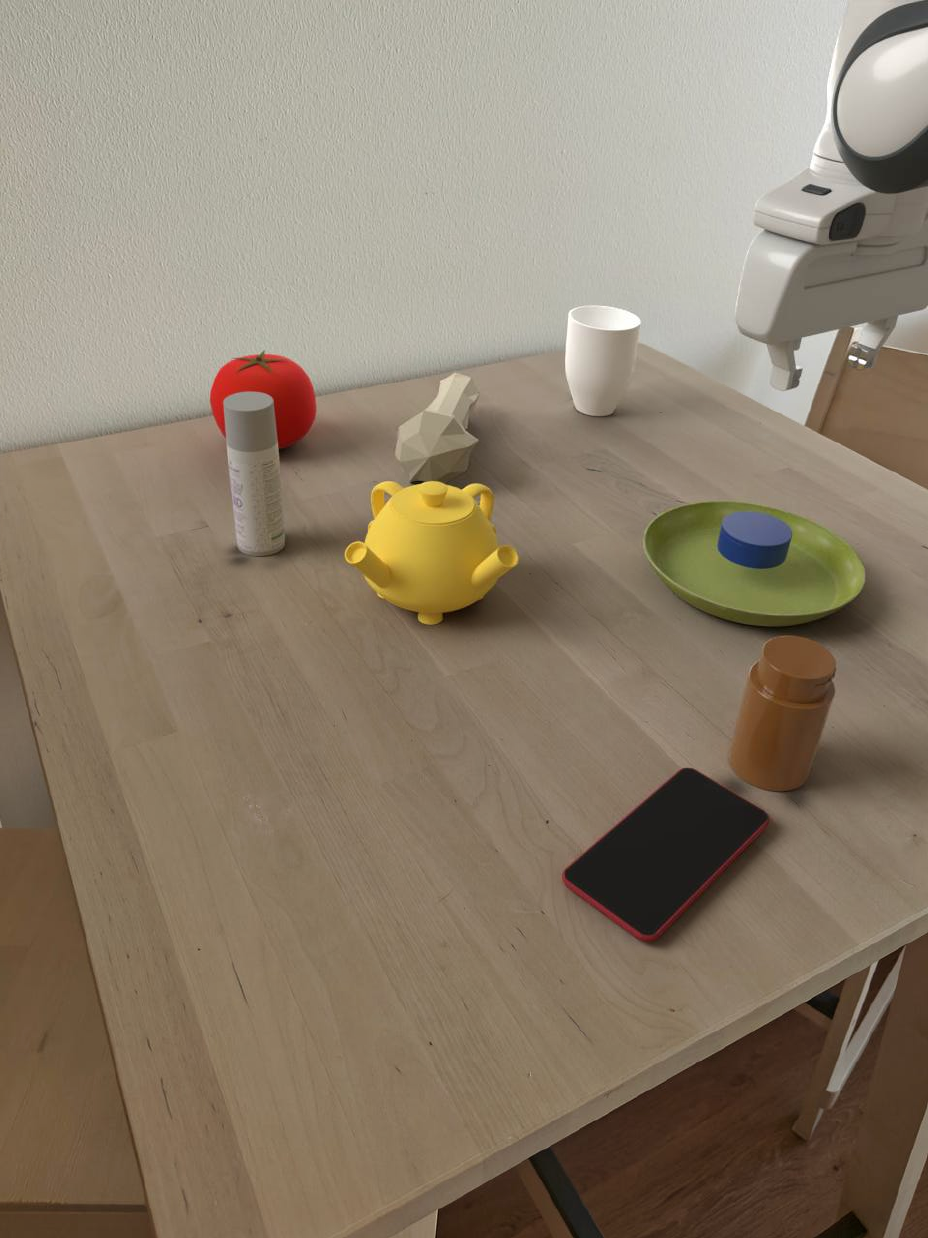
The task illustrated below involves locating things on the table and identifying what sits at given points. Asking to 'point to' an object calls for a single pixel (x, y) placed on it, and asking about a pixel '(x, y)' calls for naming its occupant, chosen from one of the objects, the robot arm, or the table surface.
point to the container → (254, 472)
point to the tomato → (269, 392)
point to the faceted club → (440, 433)
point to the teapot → (431, 547)
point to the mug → (600, 357)
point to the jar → (783, 713)
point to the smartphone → (665, 853)
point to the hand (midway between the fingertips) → (822, 377)
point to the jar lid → (754, 539)
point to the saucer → (776, 596)
